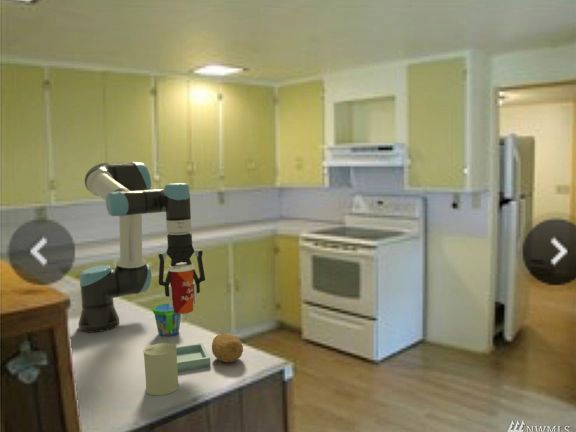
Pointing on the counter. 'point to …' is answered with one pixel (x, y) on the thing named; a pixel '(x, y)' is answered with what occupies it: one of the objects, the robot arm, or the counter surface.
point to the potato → (227, 347)
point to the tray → (192, 357)
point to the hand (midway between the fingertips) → (183, 304)
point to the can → (161, 369)
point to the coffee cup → (182, 287)
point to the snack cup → (166, 320)
